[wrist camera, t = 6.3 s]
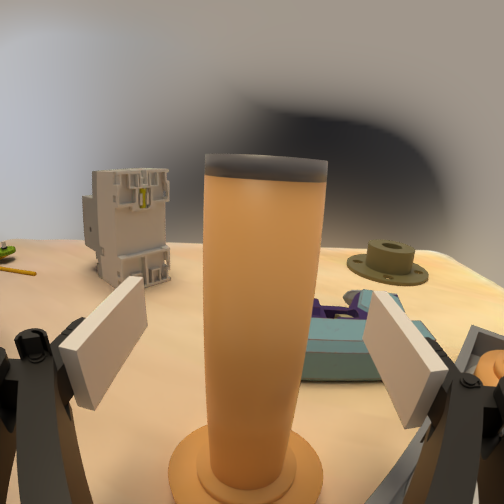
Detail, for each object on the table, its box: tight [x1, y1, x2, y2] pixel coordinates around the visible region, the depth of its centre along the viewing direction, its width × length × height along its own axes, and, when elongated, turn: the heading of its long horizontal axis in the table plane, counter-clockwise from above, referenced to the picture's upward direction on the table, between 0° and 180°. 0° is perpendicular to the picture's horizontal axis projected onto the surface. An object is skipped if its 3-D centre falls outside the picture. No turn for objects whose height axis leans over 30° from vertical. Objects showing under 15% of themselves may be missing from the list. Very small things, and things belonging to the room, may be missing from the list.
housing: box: [364, 325, 504, 504], centre depth 13 cm, size 24×12×4 cm, turn 133°
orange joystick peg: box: [168, 154, 328, 504], centre depth 11 cm, size 8×8×17 cm
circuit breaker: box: [82, 168, 171, 288], centre depth 42 cm, size 8×14×15 cm, turn 50°
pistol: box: [301, 289, 436, 381], centre depth 29 cm, size 4×16×15 cm
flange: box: [347, 240, 428, 286], centre depth 51 cm, size 5×15×15 cm
